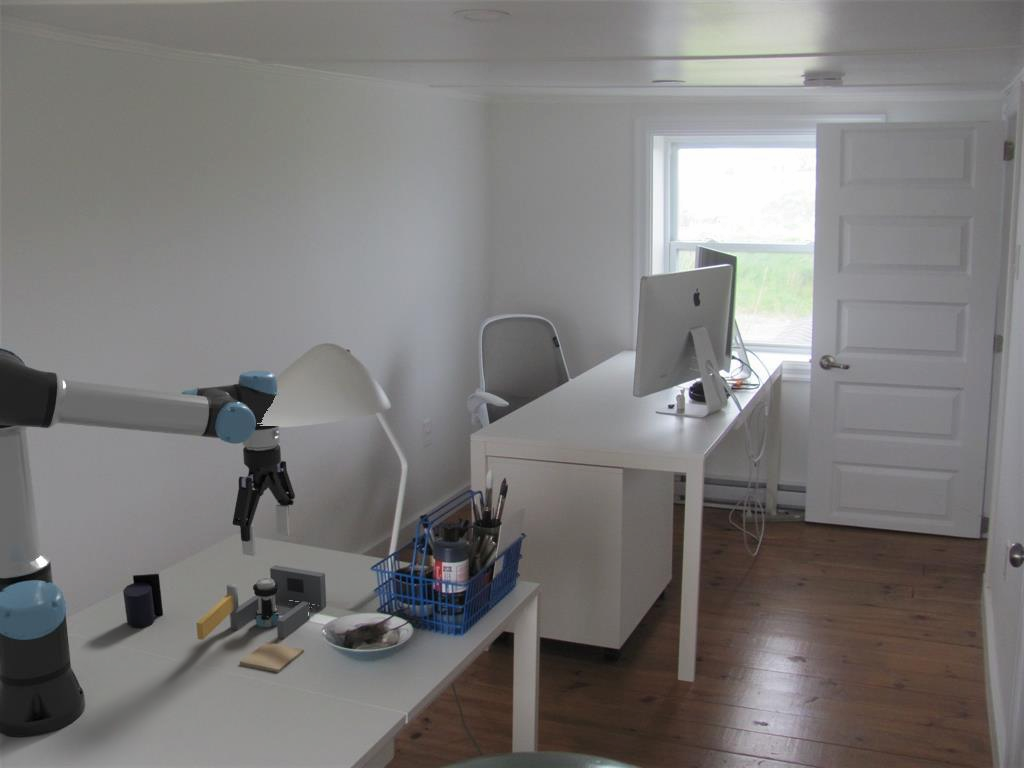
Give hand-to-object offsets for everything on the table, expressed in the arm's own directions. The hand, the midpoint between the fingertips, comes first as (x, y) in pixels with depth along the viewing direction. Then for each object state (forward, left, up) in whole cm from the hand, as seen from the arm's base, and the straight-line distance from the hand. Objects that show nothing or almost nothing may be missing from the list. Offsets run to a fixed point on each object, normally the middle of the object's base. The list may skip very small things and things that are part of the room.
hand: (266, 544), depth 214 cm
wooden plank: (-11, +5, -14) cm, 18 cm away
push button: (0, 0, -19) cm, 19 cm away
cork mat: (-13, -9, -18) cm, 24 cm away
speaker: (-9, +26, -19) cm, 33 cm away
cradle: (+3, 0, -18) cm, 19 cm away
